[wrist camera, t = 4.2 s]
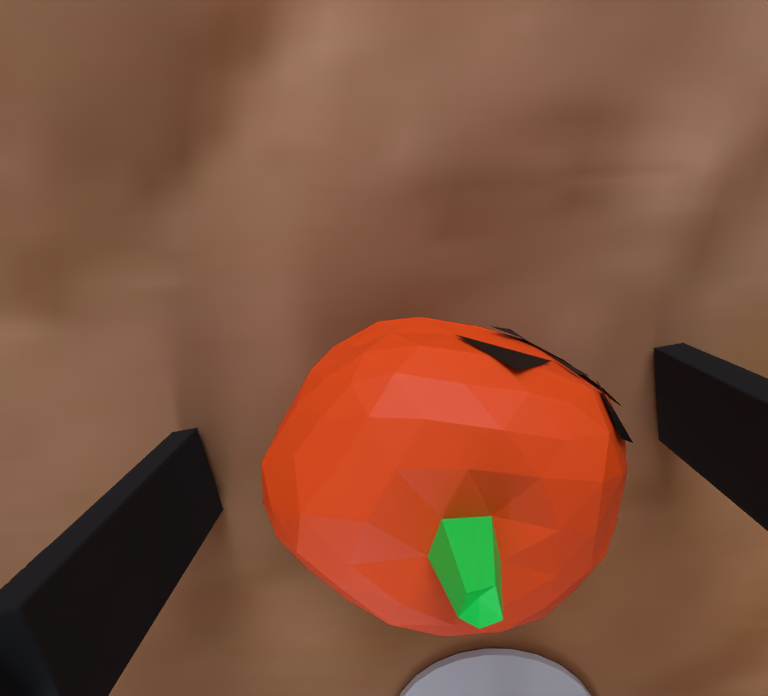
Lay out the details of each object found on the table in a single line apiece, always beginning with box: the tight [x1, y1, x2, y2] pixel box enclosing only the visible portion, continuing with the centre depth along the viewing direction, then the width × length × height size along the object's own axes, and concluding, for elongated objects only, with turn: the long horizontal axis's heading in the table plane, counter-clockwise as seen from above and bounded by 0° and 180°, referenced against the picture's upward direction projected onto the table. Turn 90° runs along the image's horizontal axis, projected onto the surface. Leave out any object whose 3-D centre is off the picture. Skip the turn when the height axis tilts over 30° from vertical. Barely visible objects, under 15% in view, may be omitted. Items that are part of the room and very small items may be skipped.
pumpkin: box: [262, 317, 633, 636], centre depth 10 cm, size 7×8×6 cm
